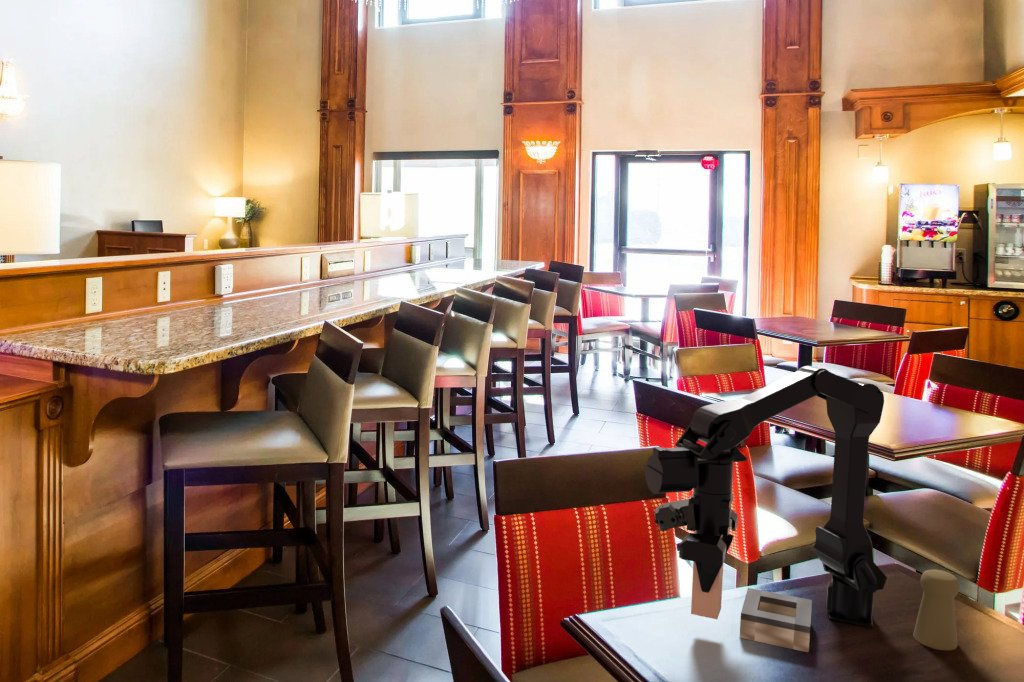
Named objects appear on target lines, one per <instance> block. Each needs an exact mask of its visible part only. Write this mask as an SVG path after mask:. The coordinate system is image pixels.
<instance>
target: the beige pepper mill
mask: <svg viewBox="0 0 1024 682" xmlns="http://www.w3.org/2000/svg"><path fill="white" fill-rule="evenodd" d="M920 586H921V588H922V590H923V594H922V596H921V597H922V598H921V601H920V605H919V609H918V614H917V617H916V621H915V625H914V630H913V634H912V635H913V636H912V637H913V638H914V640H916V641H917V643H919V644H921V645H924V646H926V647H928V648H931V649H933V650H938V651H939V650H940V651H954V650H956V649H957V647H958V646H959V645H958V635H957V634H958V633H957V620H956V617H957V616H956V605H955V604H956V603H955V597H956V596H957V595H958V593H959V591H960V582H959V580H958V579H957V577H956V576H955V575H954V574H952V573H950V572H948V571H946V570H945V571H944V570H940V569H927V570H925V571H924V572H922V574H921V577H920Z"/></svg>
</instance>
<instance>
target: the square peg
mask: <svg viewBox="0 0 1024 682" xmlns="http://www.w3.org/2000/svg"><path fill="white" fill-rule="evenodd" d="M692 562H693V567H692V583H691V585H692V586H691V588H692V589H691V609H690V614H691V615H695V616H699V617H704V618H709V619H713V620H718V618H719V617H720V613H721V610H722V598H723V597H722V596H723V579H724V578H723V576H724V564H723V565H722V567H721V569H720V571H719V573H718V575H717V577H716V579H715V581H714V583H713V585H712V587H711V589H710V591H709V593H706V592H702V590H701V586H700V581H699V576H698V572H697V567H696V564H695V561H692Z"/></svg>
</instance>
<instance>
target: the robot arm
mask: <svg viewBox="0 0 1024 682" xmlns="http://www.w3.org/2000/svg"><path fill="white" fill-rule="evenodd" d="M814 397H817V398H820V399H822V400H824V401H825V403H826V414H827V417H828V419H829V422H830V424H831V426H832V428H833V431H834V435H835V436H834V452H833V453H834V455H833V469H832V470H833V471H832V485H831V486H832V488H831V502H830V515H829V518H828V520H826V523H825V524H823V526H819V525H817V526H816V527H815V542H814V545H813V549H814V550H815V551H816V555H817V558H818V559H819V561H821V563H822V566H823V571H824V572H826V573H829V574H831V575H832V576H831V580H829V581H828V582H827V592H826V607H825V609H826V611H828V618H829V619H830V620H834V621H839V622H844V623H850V624H853V625H854V624H855V625H860V626H864V627H869V628H871V627H873V626H874V622H873V608H874V593H877V591H880V590H883V589H884V588H885V585H886V582H887V579H888V577H887V576H886V574H885V573H884V572H883V571H882V570H881V569H880V568H879V566H878V565H877V564H876V563H875V562H874V550H873V542H872V540H871V537H870V536H869V533H868V531H867V528H866V525H865V522H864V518H865V517H864V516H865V504H866V501H865V500H866V490H867V489H866V488H867V487H866V486H867V475H868V474H867V473H868V472H867V470H868V458H869V455H868V454H869V443H870V442H869V441H870V436H871V435H872V433H873V432H874V431H875V430H876V429H877V427H878V425H880V423H881V418H882V414H883V409H884V406H885V405H884V404H885V395H884V392H883V391H882V390H881V389H880V388H879V386H877V385H875V384H873V383H869V382H864V381H859V380H855V379H850V378H845V377H842V376H840V375H838V374H835V373H832V372H831V371H830V370H828V369H826V368H822V367H817V366H813V365H804V366H802V367H799V368H797V370H796V371H795V372H793V373H791V374H789V375H787V376H784V377H782V378H780V379H778V380H776V381H774V382H772V383H769V384H768V385H766V386H764V387H762V388H759V389H757V390H755V391H753V392H751V393H749V394H747V395H746V396H743V397H741V398H738V399H737V398H736V399H734V400H726V401H725V400H724V401H719V402H718V401H717V402H714V403H710V404H707V405H703V406H701V407H699V408H698V409H696V410H695V411H694V412H693V414H692V418H691V421H690V423H689V425H687V427H686V428H685V430H684V432H683V433H682V434H681V436H680V437H679V439H678V440H677V442H676V443H675V447H662V446H656V447H653V448H652V455H650V456H649V458H648V459H647V461H646V464H645V465H644V466H645V467H644V475H645V481H646V484H647V487H648V489H649V491H650V492H651V493H652V494H654V495H655V494H669V493H670V494H671V493H685V492H686V493H687V492H691V491H693V492H692V494H691V495H690V496H689V498H687V499H679V500H675V501H670V502H665V503H661V504H659V505H658V506H657V507H656V509H655V510H654V512H653V513H654V517H655V519H654V524H656V525H658V528H659V531H660V532H665V531H666V532H667V531H669V530H670V529H675V528H681V527H686V531H691V532H689V533H688V534H687V535H686V536H684V537H683V539H682V540H681V542H680V543H679V551H678V553H679V554H678V558H679V559H681V560H685V561H690V562H693V561H695V564H696V567H697V572H698V576H699V581H700V586H701V590H702V592H706V593H709V591H710V589H711V587H712V585H713V583H714V581H715V579H716V577H717V575H718V573H719V571H720V569H721V567H722V565H723V566H724V562H725V561H726V558H727V555H728V551H729V549H730V547H731V545H732V543H733V540H734V537H735V536H734V535H733V534H729V533H730V530H731V531H732V532H736V531H737V528H738V521H739V520H738V519H739V515H738V514H737V513H736V512H735V511H734V509H732V503H733V501H734V493H732V491H733V480H734V479H733V476H734V463H739V462H740V463H742V462H746V461H747V460H748V458H747V456H746V455H744V454H743V452H741V450H740V449H739V447H738V445H739V444H740V443H742V442H743V441H745V440H746V439H748V438H749V437H750V435H752V432H753V431H754V429H755V428H756V427H757V426H758V425H760V424H762V423H763V422H766V421H768V420H770V419H772V418H773V417H776V416H778V415H779V414H782V413H783V412H786V411H788V410H789V409H792V408H793V407H796V406H797V405H799V404H801V403H804V402H806V401H807V400H810V399H812V398H814ZM699 441H700V442H702V443H704V444H705V445H703V444H701V443H698V442H699ZM693 532H694V533H693Z"/></svg>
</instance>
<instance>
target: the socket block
mask: <svg viewBox="0 0 1024 682" xmlns="http://www.w3.org/2000/svg"><path fill="white" fill-rule="evenodd" d="M812 605H813V600H812V599H809V598H802V597H799V596H792V595H787V594H783V593H777V592H772V591H766V590H762V589H761V590H760V589H756V588H750V587H747V590H746V594H745V596H744V601H743V604H742V608H741V611H740V622H739V623H740V625H739V638H740V639H745V640H748V641H749V640H750V641H753V642H754V641H755V642H759V643H762V644H767V645H772V646H776V647H781V648H787V649H791V650H795V651H799V652H804V653H805V652H806V653H809V651H810V641H811V639H810V638H811V637H810V636H811V625H812V624H811V621H812V609H813V606H812Z"/></svg>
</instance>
